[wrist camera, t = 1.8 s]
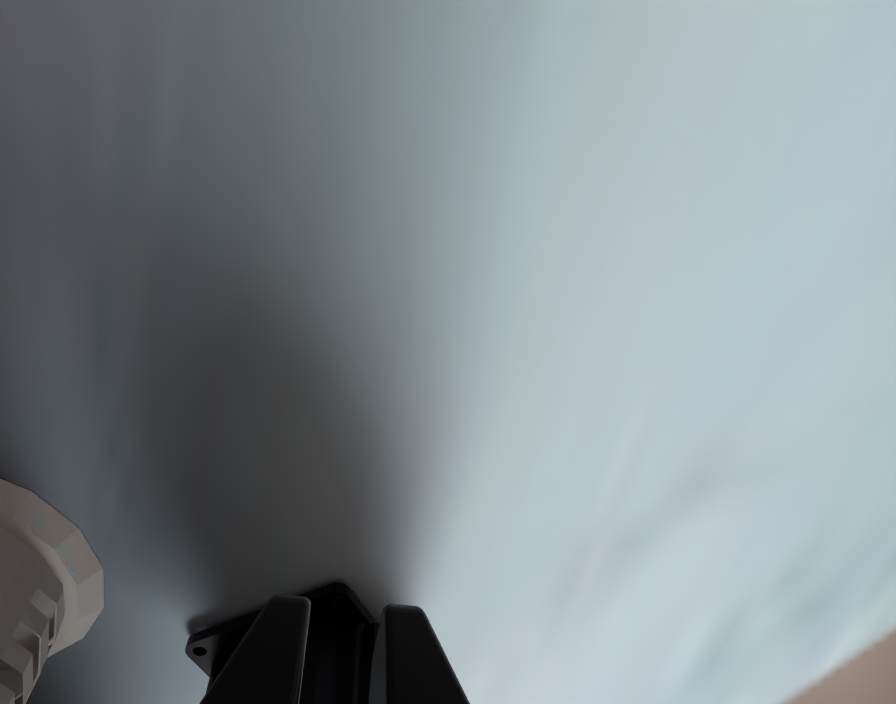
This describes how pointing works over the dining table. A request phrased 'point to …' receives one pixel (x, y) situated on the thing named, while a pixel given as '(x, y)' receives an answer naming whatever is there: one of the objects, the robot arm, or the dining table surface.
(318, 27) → the dining table surface
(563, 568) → the dining table surface
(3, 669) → the french press
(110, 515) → the dining table surface
